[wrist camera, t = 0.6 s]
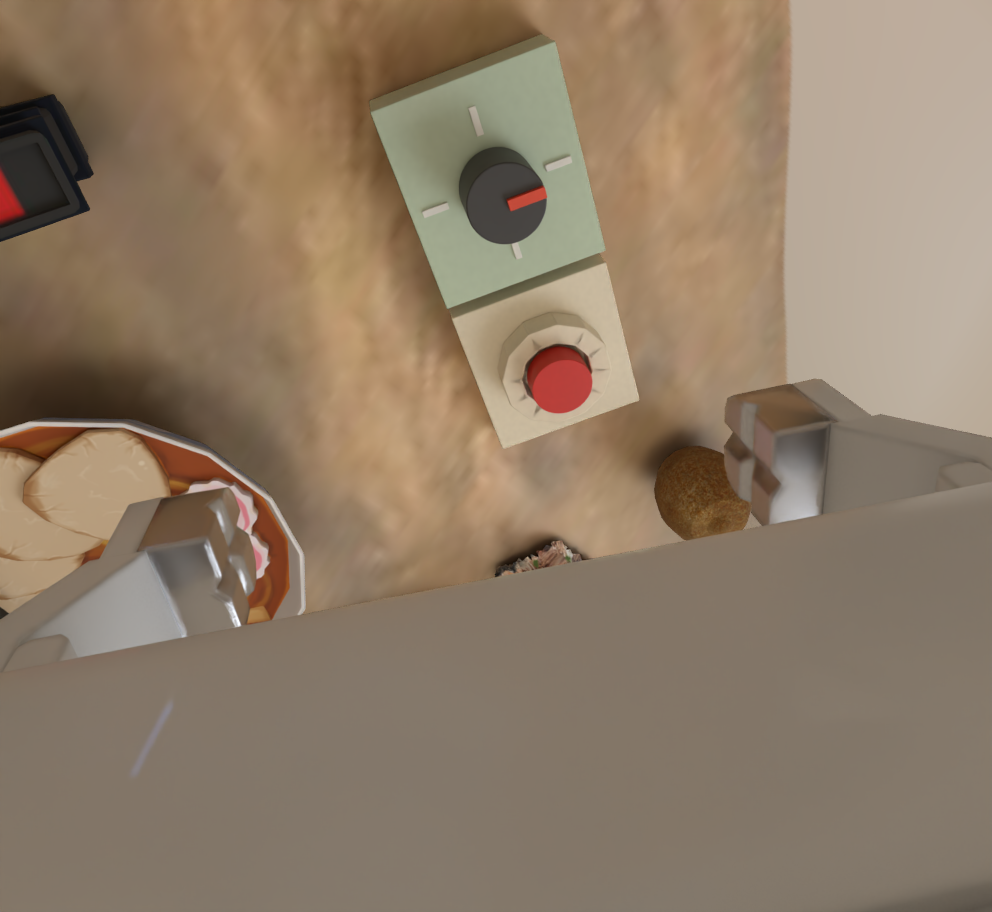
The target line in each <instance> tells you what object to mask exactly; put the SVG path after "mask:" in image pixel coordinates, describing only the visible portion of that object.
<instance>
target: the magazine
mask: <svg viewBox="0 0 992 912" xmlns="http://www.w3.org/2000/svg"><path fill="white" fill-rule="evenodd" d="M92 175H93V171H92V169H91V167H90V165H89V163H88V155H87V153H86V151H85V149H84V147H83V145H82V143H81V141H80V139H79V137H78V135H77V133H76V131H75V129H74V127H73V125H72V123H71V121H70V119H69V117H68V115H67V113H66V111H65V109H64V107H63V105H62V104H61V103H60V102H59V101H57V99H56V97H55V95H53V94H52V95H48V96H44V97H40V98H37V99H33V100H29V101H25V102H21V103H17V104H14V105H10V106H6V107H2V108H0V242H1V241H4V240H7V239H10V238H13V237H16V236H19V235H21V234H24V233H27V232H30V231H33V230H36V229H38V228H41V227H44V226H47V225H50V224H53V223H55V222H58V221H61V220H64V219H67V218H70V217H73V216H75V215H78V214H81V213H84V212H87V211H89V210H90V207H89V206H88V204H87V202H86V200H85V198H84V196H83V194H82V192H81V189H80V187H79V185H78V183H77V182H76V181H80V180H83V179H87V178H90V177H91V176H92Z"/></svg>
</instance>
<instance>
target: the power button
mask: <svg viewBox="0 0 992 912" xmlns="http://www.w3.org/2000/svg"><path fill="white" fill-rule="evenodd" d="M527 381H528V385H529V387H530V390H531V392H532V395H533V398H534V400H535V402H536V403H537V404H538V406H539V407H541V408H542V409H543V410H545V411H548V412H551V413H558V414H559V413H567V412H570V411H573V410H575V409H576V408H578V407H579V406H581V405H582V404H583V403H584V402H585V401H586V400H587V398H588V397H589V395H590V393H591V390H592V384H593V381H592V376H591V373H590V371H589V369H588V367H587V366H586V364H585V362H584V360H583V358H582V357H581V355H580V354H579V353H578V352H576V351H575V350H573V349H571V348H568V347H561V346H558V347H552V348H548V349H546V350H544V351H542V352H541V353H539V354H538V355H537V356H536V357H535V358H534V359H533V360H532V362H531V363H530V366H529V368H528V371H527Z"/></svg>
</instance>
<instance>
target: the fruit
mask: <svg viewBox="0 0 992 912" xmlns="http://www.w3.org/2000/svg"><path fill="white" fill-rule="evenodd" d="M654 492H655V499H656V502H657V505H658V509H659V511H660V514H661V517H662V519H663V520H664V521H665V523H666V524H667V525H668V526H669V527H670V528H671V529H672V530H673V531H674V532H675V533H677V534H678V535H679V536H680V537H681V538H682V539H684V540H686V541H687V540H692V539H698V538H703V537H708V536H713V535H718V534H724V533H729V532H734V531H739V530H743V528H744V527H745V525H746V523H747V521H748V518H749V515H750V511H751V502H749V501H746V500H743V499H740V498H739V497H738V496H737V494H736V493H735V492H734V491H733V489H732V487H731V485H730V483H729V481H728V477H727V473H726V469H725V464H724V454H722V453H720V452H718V451H715V450H712V449H709V448H705V447H701V446H691V447H685V448H682V449H680V450H677V451H675V452H674V453H672V454H671V455H670V456H669V457H667V458H666V459H665V460H664V462H663V463H662V465H661V466H660V468H659V470H658V473H657V478H656V483H655V488H654Z"/></svg>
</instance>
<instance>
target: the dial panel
mask: <svg viewBox="0 0 992 912" xmlns="http://www.w3.org/2000/svg"><path fill="white" fill-rule="evenodd" d="M369 106H370V114H371V116H372V119H373V121H374V124H375V126H376V129H377V132H378V134H379V137H380V139H381V142H382V144H383V147H384V149H385V152H386V155H387V157H388V160H389V162H390V165H391V167H392V170H393V172H394V175H395V178H396V180H397V183H398V185H399V188H400V190H401V193H402V195H403V198H404V201H405V203H406V206H407V208H408V211H409V213H410V216H411V218H412V221H413V224H414V226H415V229H416V231H417V234H418V236H419V239H420V241H421V244H422V247H423V249H424V252H425V254H426V257H427V259H428V262H429V264H430V267H431V270H432V272H433V275H434V277H435V280H436V282H437V285H438V287H439V290H440V293H441V295H442V298H443V300H444V303H445V305H446V308H447V309H449V308H451V307H454V306H457V305H459V304H462V303H465V302H467V301H470V300H473V299H476V298H478V297H481V296H484V295H486V294H489V293H492V292H495V291H497V290H500V289H503V288H505V287H508V286H511V285H513V284H516V283H519V282H522V281H524V280H527V279H530V278H532V277H535V276H538V275H541V274H543V273H546V272H549V271H551V270H554V269H557V268H559V267H562V266H565V265H568V264H570V263H573V262H576V261H578V260H581V259H584V258H586V257H589V256H592V255H595V254H597V253H600V252H603V251H605V245H604V241H603V237H602V233H601V229H600V224H599V220H598V216H597V212H596V208H595V204H594V200H593V195H592V191H591V187H590V183H589V179H588V175H587V171H586V167H585V162H584V158H583V154H582V150H581V146H580V142H579V138H578V133H577V129H576V125H575V121H574V117H573V113H572V109H571V105H570V100H569V96H568V92H567V88H566V84H565V80H564V76H563V71H562V67H561V63H560V59H559V55H558V51H557V47H556V43H555V41H554V40H552V39H550V38H548V37H546V36H545V35H543V34H541V35H538V36H536V37H533V38H530V39H528V40H525V41H523V42H520V43H517V44H515V45H512V46H510V47H507V48H505V49H502V50H499V51H497V52H494V53H492V54H489V55H486V56H484V57H481V58H479V59H476V60H473V61H471V62H468V63H466V64H463V65H461V66H458V67H455V68H453V69H450V70H448V71H445V72H442V73H440V74H437V75H435V76H432V77H430V78H427V79H424V80H422V81H419V82H417V83H414V84H411V85H409V86H406V87H404V88H401V89H398V90H396V91H393V92H391V93H388V94H386V95H383V96H380V97H378V98H375V99H373V100H370V101H369ZM492 147H505V148H509V149H512V150H514V151H516V152H518V153H519V154H520V155H522V156H523V157H524V158H525V159H526V160H527V162H528V163H529V164H530V166H531V167H532V168H533V170H534V171H535V172H536V174H537V175H538V176H539V178H540V179H541V181H542V183H543V185H544V187H545V190H546V194H547V206H546V211H545V215H544V217H543V219H542V222H541V223H540V225H539V226H538V228H537V229H536V230H535V231H534V232H533V233H532V234H531V235H530V236H528V237H527V238H525V239H524V240H521V241H519V242H516V243H513V244H496V243H492V242H490V241H487V240H486V239H484V238H482V237H481V236H480V235H479V234H478V233H477V232H476V231H475V230H474V229H473V227H472V226H471V224H470V222H469V219H468V217H467V214H466V212H465V210H464V207H463V205H462V202H461V199H460V195H459V180H460V176H461V173H462V171H463V169H464V167H465V165H466V164H467V163H468V161H469V160H470V159H471V158H472V157H473V156H474V155H476V154H477V153H479V152H480V151H483V150H485V149H488V148H492Z"/></svg>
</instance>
